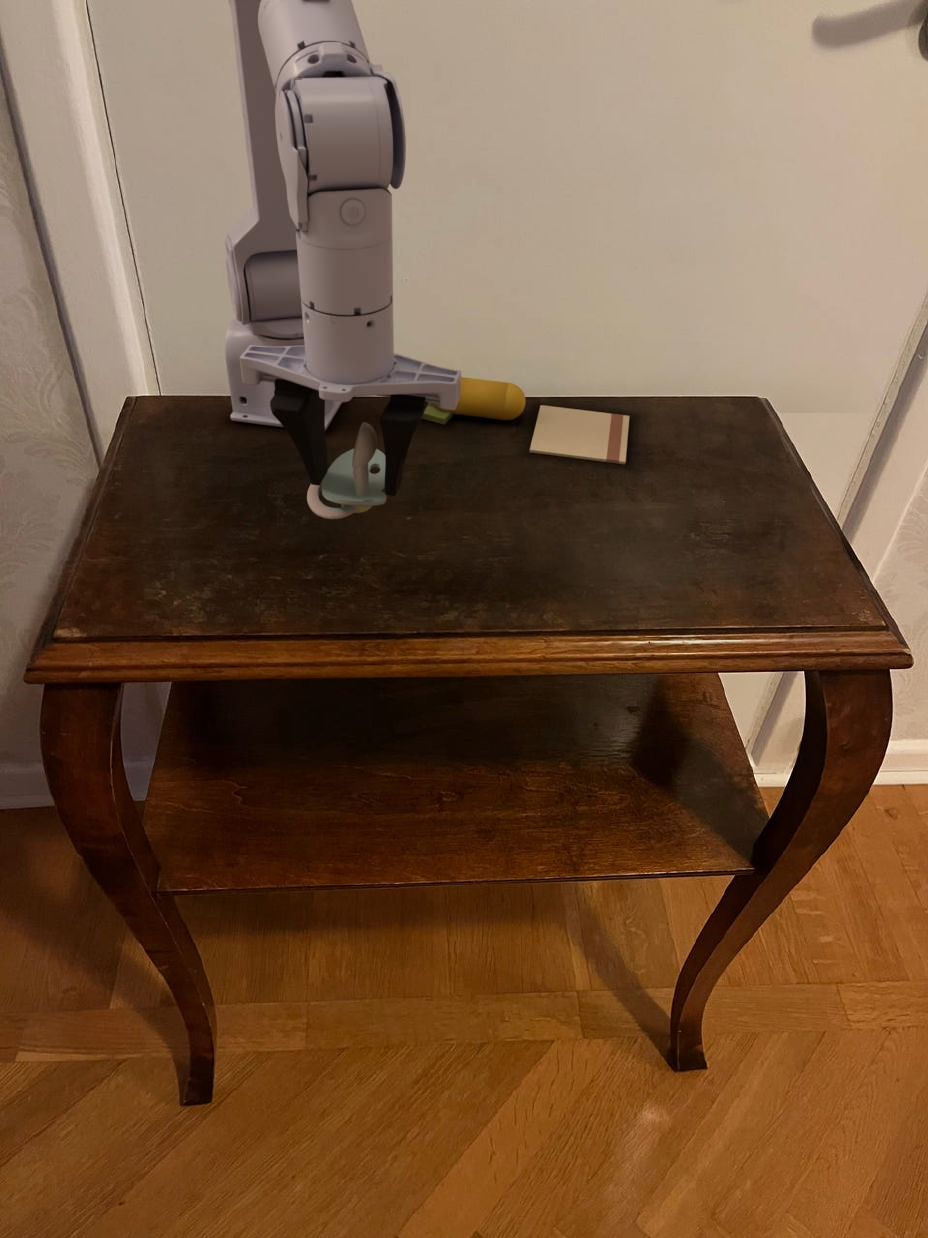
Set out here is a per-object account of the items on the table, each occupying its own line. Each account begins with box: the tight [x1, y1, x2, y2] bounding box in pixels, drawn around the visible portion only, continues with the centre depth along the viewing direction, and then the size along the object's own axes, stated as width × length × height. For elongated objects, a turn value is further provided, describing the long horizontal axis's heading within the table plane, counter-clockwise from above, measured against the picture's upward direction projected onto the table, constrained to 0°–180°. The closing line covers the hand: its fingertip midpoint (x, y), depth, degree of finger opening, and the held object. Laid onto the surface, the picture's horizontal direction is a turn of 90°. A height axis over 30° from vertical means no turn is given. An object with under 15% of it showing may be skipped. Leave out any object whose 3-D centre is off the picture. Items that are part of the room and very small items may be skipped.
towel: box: [529, 404, 630, 465], centre depth 88 cm, size 9×9×1 cm
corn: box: [421, 376, 526, 426], centre depth 89 cm, size 11×6×4 cm, turn 80°
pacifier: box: [306, 421, 388, 520], centre depth 65 cm, size 7×6×6 cm
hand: (355, 482), depth 65 cm, fingers closed on pacifier, 5 cm apart
